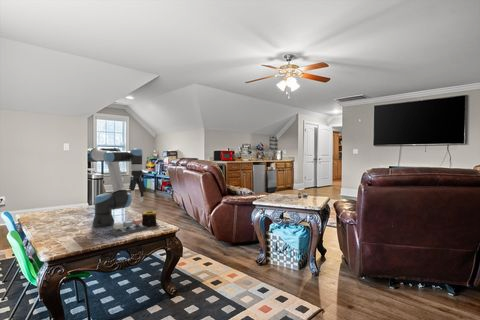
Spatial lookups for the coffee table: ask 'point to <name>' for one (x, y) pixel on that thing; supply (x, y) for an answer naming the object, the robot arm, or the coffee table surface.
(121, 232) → the keypad base
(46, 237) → the coffee table surface
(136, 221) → the key coral
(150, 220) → the candle
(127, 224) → the key slate
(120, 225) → the key ivory
